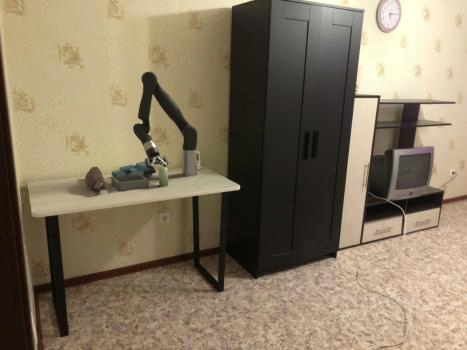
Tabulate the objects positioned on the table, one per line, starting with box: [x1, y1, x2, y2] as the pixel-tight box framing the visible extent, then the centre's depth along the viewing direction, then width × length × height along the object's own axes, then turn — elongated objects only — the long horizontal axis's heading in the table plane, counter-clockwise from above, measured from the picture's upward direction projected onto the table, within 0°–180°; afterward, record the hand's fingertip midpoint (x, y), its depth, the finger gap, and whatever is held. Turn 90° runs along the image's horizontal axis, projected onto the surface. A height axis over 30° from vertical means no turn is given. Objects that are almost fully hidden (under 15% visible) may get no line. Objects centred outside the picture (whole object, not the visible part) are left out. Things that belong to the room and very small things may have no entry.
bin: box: [111, 174, 149, 192], centre depth 222 cm, size 17×14×5 cm
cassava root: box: [84, 166, 107, 191], centre depth 220 cm, size 41×11×10 cm
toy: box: [111, 160, 155, 179], centre depth 245 cm, size 22×9×30 cm
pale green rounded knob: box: [158, 166, 169, 188], centre depth 225 cm, size 5×5×11 cm
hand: (161, 171), depth 226 cm, fingers open, 8 cm apart
